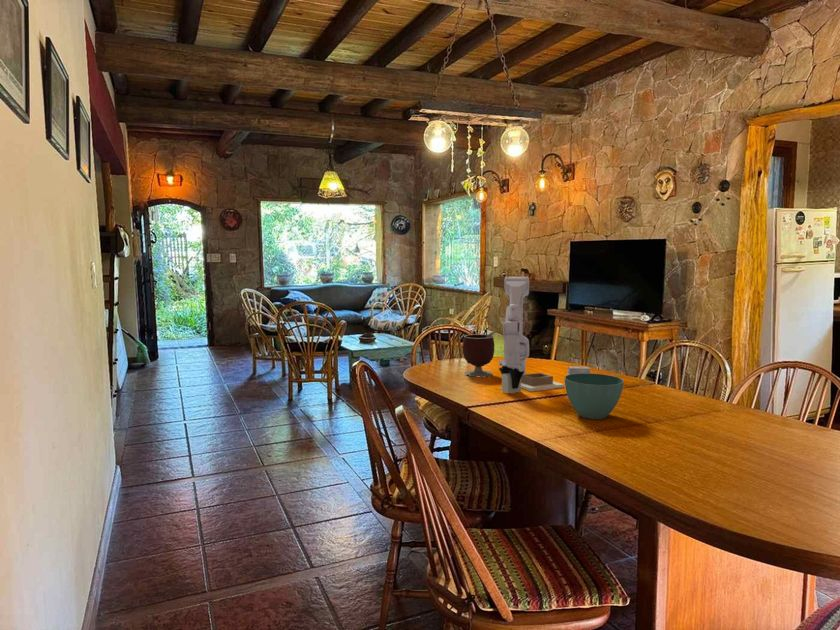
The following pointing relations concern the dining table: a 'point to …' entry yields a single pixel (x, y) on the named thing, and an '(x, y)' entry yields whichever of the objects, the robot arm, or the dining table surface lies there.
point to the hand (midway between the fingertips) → (511, 386)
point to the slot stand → (539, 382)
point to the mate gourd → (478, 352)
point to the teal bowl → (593, 393)
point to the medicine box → (578, 370)
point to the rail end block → (509, 384)
